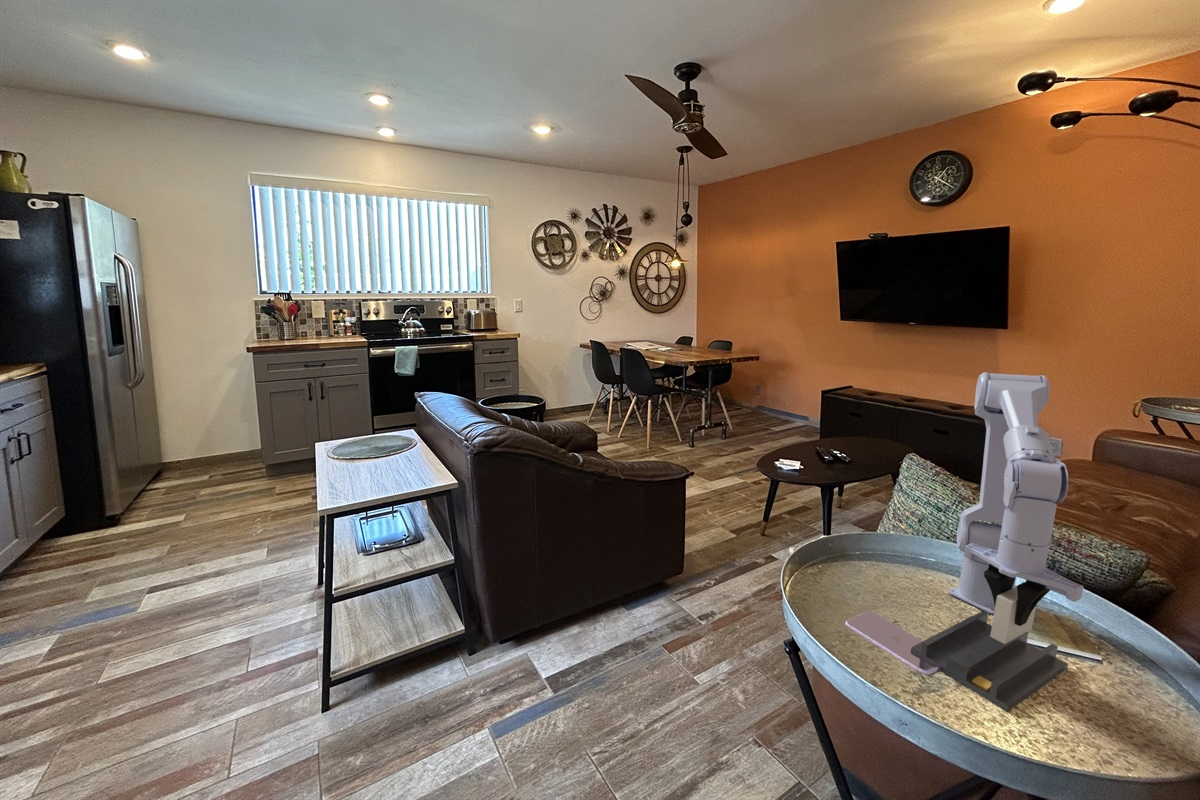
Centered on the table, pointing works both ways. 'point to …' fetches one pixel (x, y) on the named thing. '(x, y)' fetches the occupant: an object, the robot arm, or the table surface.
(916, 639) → the mobile phone
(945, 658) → the charcoal rack
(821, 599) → the table surface
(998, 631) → the panel
